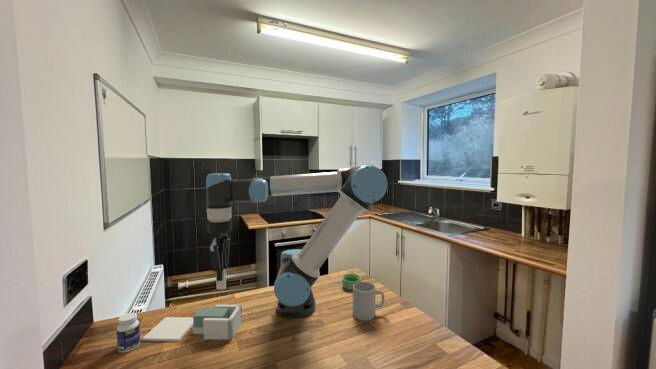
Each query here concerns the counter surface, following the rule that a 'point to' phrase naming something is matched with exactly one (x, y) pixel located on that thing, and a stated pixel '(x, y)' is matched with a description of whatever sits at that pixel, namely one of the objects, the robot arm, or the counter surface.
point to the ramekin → (350, 280)
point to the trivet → (170, 329)
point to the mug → (365, 300)
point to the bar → (209, 315)
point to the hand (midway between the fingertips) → (221, 288)
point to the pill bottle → (128, 333)
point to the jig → (221, 324)
